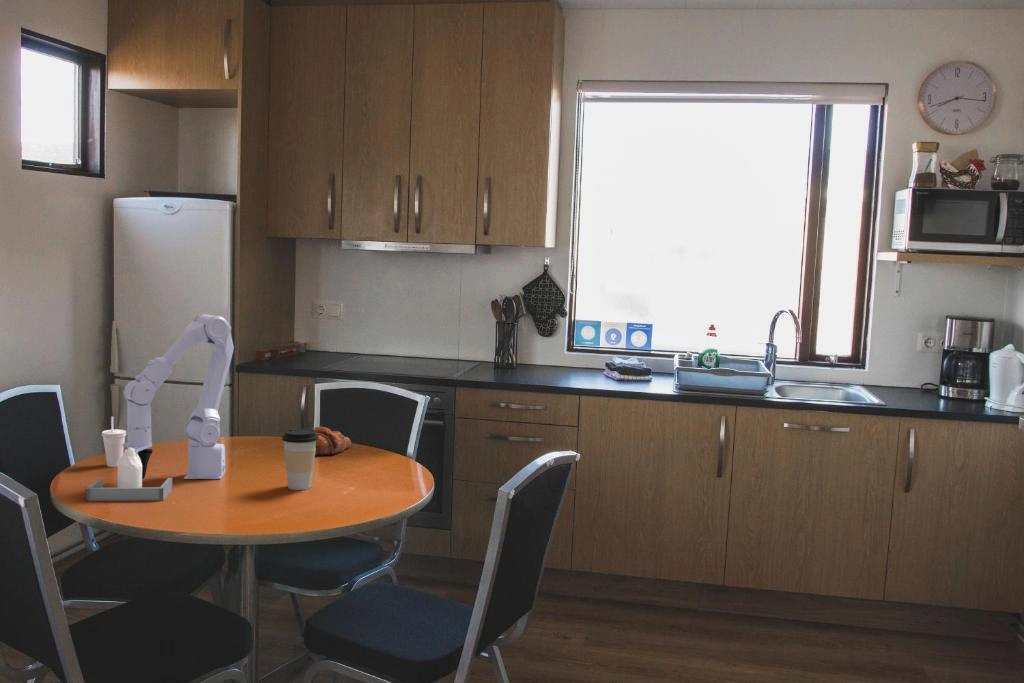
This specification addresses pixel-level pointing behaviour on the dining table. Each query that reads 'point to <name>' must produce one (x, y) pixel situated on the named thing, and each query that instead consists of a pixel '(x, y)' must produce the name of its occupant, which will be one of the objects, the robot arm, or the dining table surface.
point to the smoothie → (113, 445)
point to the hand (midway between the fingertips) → (139, 478)
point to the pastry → (330, 442)
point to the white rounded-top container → (129, 470)
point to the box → (127, 492)
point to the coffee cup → (299, 457)
